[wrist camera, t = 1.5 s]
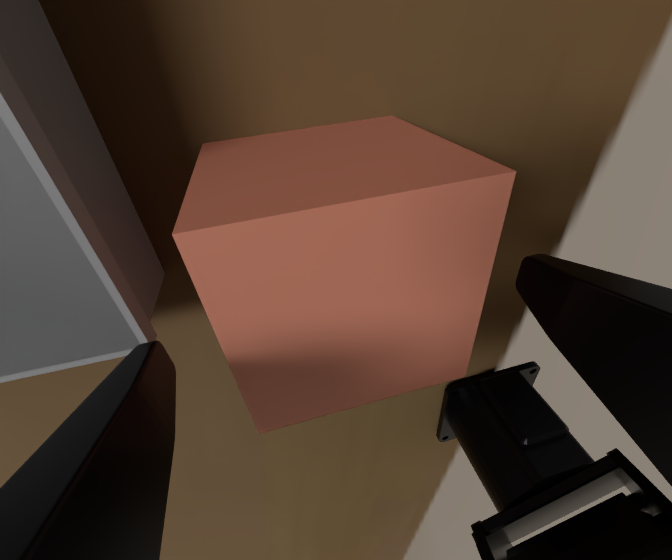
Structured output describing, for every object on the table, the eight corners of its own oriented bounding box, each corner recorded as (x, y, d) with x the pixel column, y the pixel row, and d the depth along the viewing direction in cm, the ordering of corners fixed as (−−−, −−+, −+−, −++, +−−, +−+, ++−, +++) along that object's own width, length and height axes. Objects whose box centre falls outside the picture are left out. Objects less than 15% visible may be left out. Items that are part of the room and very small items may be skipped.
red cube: (389, 266, 14) (465, 376, 10) (250, 296, 13) (259, 434, 9) (391, 115, 11) (516, 171, 6) (203, 143, 10) (172, 234, 5)
